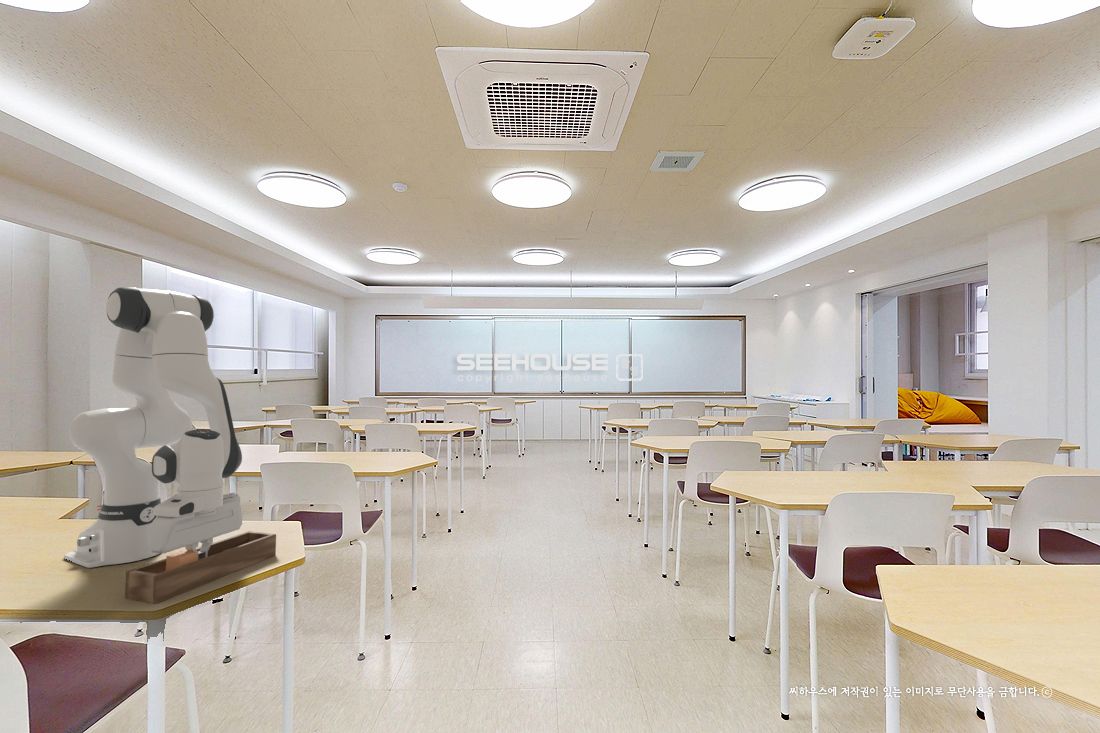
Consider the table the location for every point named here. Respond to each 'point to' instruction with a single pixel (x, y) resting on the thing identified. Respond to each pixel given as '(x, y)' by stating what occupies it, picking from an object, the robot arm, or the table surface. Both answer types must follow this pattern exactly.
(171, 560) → the block
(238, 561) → the box
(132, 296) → the robot arm
